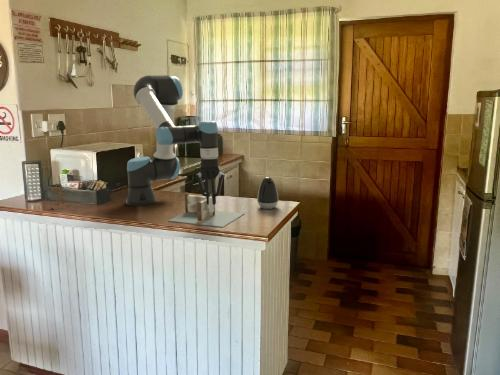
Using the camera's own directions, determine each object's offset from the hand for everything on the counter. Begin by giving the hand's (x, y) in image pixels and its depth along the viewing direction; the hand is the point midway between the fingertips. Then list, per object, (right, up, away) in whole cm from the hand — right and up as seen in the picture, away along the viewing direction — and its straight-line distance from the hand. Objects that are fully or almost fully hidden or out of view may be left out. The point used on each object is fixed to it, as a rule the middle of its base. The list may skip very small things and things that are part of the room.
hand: (211, 211), depth 187 cm
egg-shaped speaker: (+25, 0, +21) cm, 33 cm away
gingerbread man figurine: (-79, 0, +30) cm, 84 cm away
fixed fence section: (-7, -1, +13) cm, 14 cm away
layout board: (-3, -3, +6) cm, 7 cm away
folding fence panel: (-3, -3, +4) cm, 6 cm away
